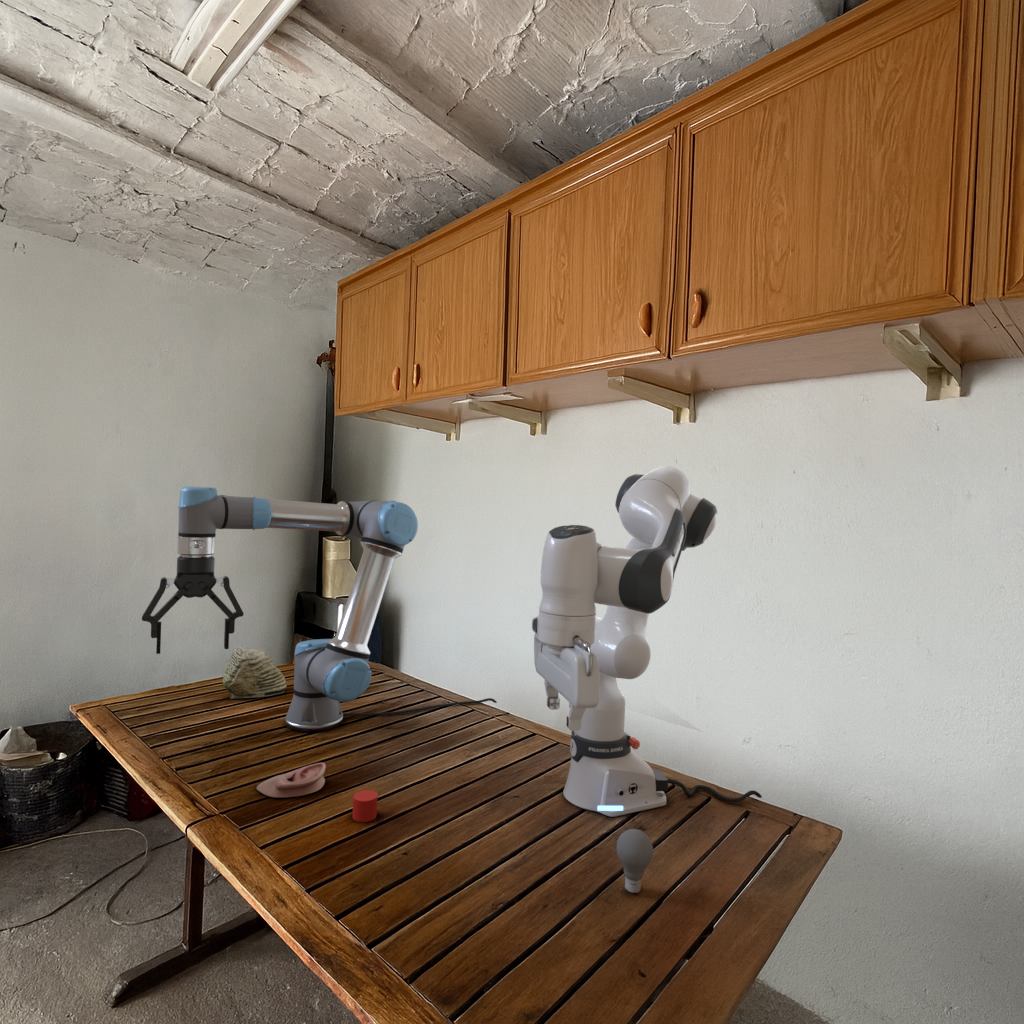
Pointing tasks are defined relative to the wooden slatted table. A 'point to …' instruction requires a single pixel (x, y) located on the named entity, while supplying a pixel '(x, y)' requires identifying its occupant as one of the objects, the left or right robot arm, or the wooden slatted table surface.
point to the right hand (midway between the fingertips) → (562, 718)
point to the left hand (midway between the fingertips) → (193, 650)
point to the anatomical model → (295, 782)
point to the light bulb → (634, 857)
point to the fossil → (252, 674)
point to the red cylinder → (364, 806)
